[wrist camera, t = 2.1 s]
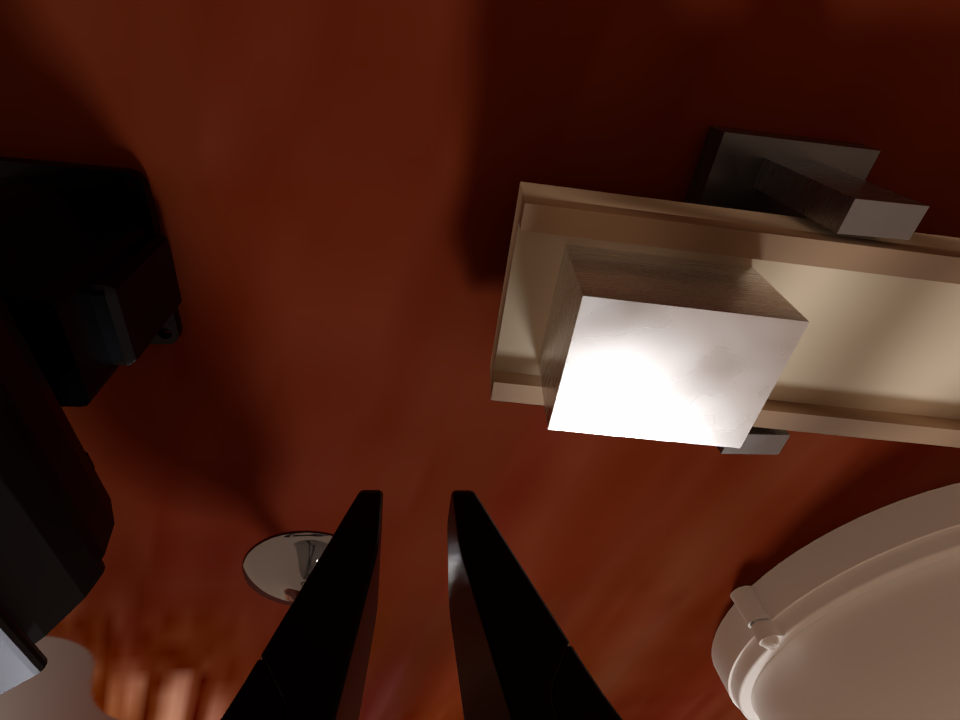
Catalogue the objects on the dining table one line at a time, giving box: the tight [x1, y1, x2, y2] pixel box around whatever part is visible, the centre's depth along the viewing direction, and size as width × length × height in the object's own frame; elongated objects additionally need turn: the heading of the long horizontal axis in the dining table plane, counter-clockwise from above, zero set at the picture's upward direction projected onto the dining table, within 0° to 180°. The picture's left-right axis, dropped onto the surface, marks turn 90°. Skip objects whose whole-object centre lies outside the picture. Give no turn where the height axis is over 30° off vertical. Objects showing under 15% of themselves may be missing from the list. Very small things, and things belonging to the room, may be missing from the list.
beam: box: [490, 181, 960, 448], centre depth 19 cm, size 24×7×3 cm, turn 83°
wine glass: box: [243, 532, 333, 605], centre depth 24 cm, size 8×8×15 cm
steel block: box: [538, 244, 809, 448], centre depth 16 cm, size 6×4×4 cm
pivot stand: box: [684, 126, 930, 454], centre depth 19 cm, size 6×11×6 cm, turn 173°
